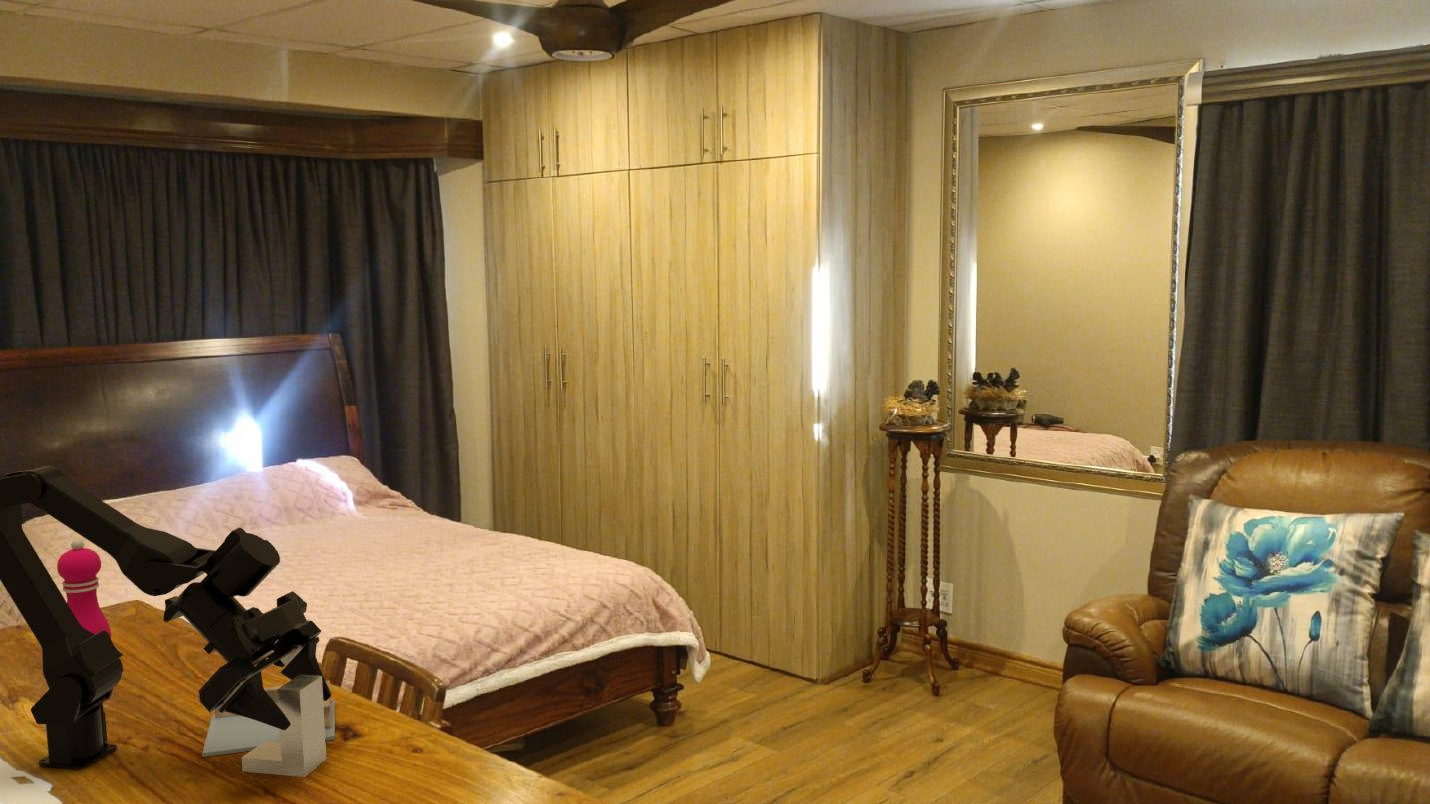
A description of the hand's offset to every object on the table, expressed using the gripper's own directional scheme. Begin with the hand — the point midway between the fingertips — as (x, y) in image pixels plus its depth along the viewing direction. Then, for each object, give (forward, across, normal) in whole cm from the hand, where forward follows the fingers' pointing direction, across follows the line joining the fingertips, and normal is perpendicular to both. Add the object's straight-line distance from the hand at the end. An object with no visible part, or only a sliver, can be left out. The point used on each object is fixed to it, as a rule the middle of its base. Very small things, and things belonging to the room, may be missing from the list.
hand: (309, 712), depth 144 cm
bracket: (+2, 0, +8) cm, 8 cm away
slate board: (-3, +10, +13) cm, 17 cm away
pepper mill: (-34, +27, +44) cm, 62 cm away
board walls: (-4, +11, +14) cm, 18 cm away
